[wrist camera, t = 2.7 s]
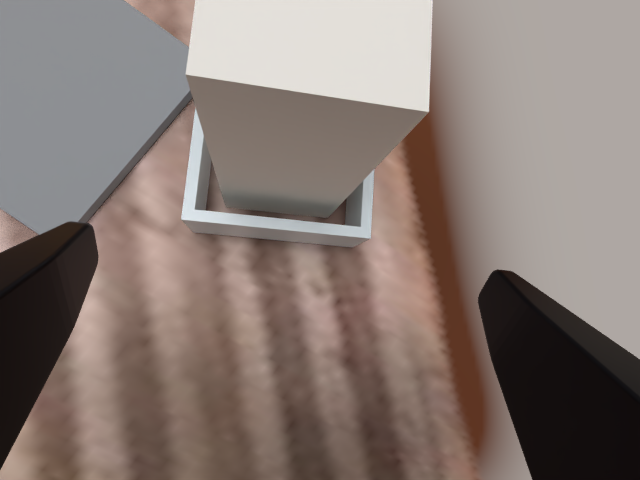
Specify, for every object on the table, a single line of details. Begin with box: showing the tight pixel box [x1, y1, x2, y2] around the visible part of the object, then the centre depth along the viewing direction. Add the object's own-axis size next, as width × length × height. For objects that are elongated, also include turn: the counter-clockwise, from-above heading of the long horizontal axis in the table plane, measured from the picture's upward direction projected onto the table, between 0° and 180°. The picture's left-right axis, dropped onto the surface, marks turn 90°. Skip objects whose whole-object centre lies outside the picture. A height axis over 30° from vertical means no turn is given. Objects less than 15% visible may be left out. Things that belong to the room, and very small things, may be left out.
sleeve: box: [181, 109, 374, 247], centre depth 20 cm, size 8×8×4 cm
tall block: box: [186, 0, 433, 218], centre depth 16 cm, size 6×6×13 cm
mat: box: [0, 0, 192, 235], centre depth 20 cm, size 12×12×1 cm
